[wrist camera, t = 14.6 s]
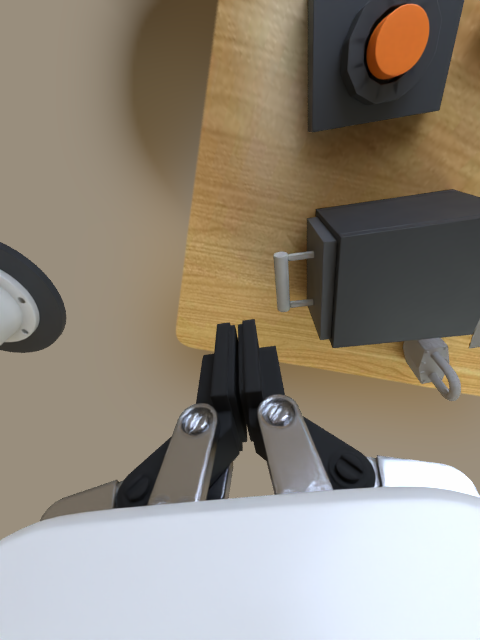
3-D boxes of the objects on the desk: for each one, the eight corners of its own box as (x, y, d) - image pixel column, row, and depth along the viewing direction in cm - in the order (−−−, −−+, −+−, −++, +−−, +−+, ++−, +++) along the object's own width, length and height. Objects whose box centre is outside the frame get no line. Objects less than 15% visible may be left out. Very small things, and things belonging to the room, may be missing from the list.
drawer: (275, 307, 37) (282, 343, 31) (269, 223, 31) (275, 248, 24) (410, 291, 35) (446, 327, 29) (433, 200, 29) (487, 220, 23)
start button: (363, 83, 21) (371, 80, 20) (369, 18, 19) (379, 9, 18) (410, 74, 21) (422, 70, 20) (421, 7, 19) (436, -3, 18)
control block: (307, 132, 26) (316, 132, 23) (307, -7, 21) (319, -31, 18) (425, 111, 25) (452, 109, 22) (456, -39, 20) (497, -72, 17)
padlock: (428, 356, 43) (470, 409, 35) (401, 361, 44) (437, 414, 36) (431, 322, 39) (480, 373, 31) (402, 329, 40) (443, 380, 32)
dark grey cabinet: (314, 302, 38) (332, 348, 30) (316, 209, 30) (340, 236, 23) (423, 290, 36) (473, 334, 29) (452, 189, 29) (529, 211, 21)
